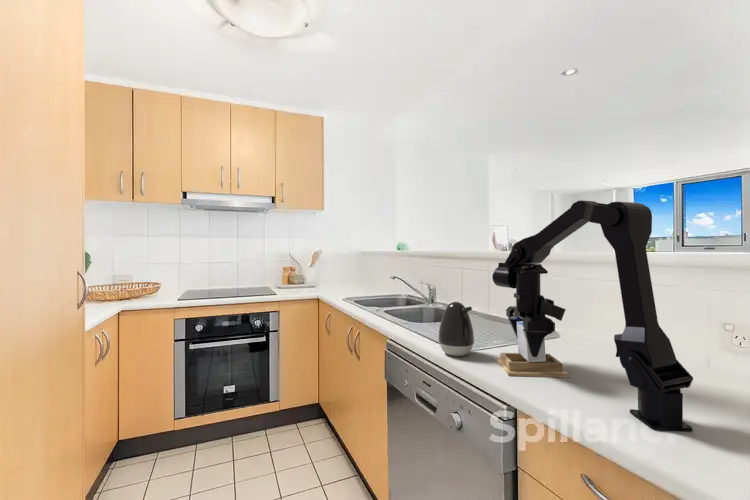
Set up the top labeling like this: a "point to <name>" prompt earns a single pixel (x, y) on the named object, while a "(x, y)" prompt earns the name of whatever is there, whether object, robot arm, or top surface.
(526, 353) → the medicine box
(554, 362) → the box
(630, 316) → the robot arm
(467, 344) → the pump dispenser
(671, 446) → the top surface
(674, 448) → the top surface
